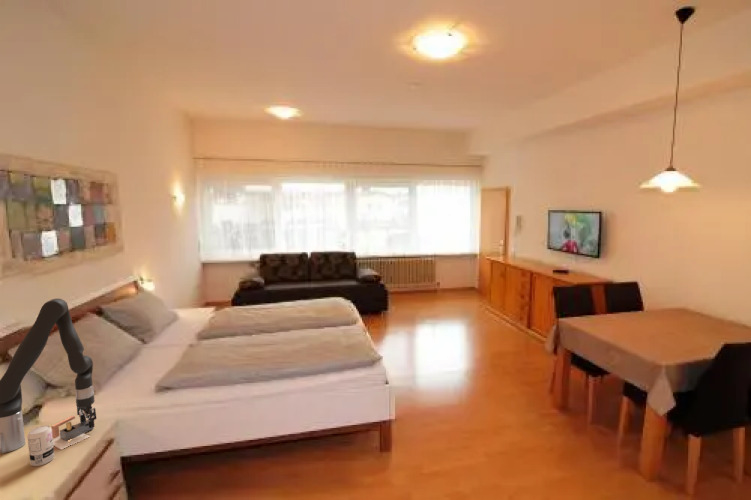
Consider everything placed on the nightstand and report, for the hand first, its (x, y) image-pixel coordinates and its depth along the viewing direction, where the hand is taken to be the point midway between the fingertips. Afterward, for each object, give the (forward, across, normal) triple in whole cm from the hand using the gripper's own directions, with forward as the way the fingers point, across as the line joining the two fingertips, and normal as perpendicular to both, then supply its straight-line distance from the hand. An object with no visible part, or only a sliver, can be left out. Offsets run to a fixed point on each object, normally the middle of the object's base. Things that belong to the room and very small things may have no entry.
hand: (87, 425), depth 198 cm
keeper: (+3, -8, -7) cm, 11 cm away
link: (+2, 0, -5) cm, 5 cm away
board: (+3, 0, -9) cm, 9 cm away
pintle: (+3, 0, -8) cm, 8 cm away
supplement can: (+3, +11, -23) cm, 26 cm away
